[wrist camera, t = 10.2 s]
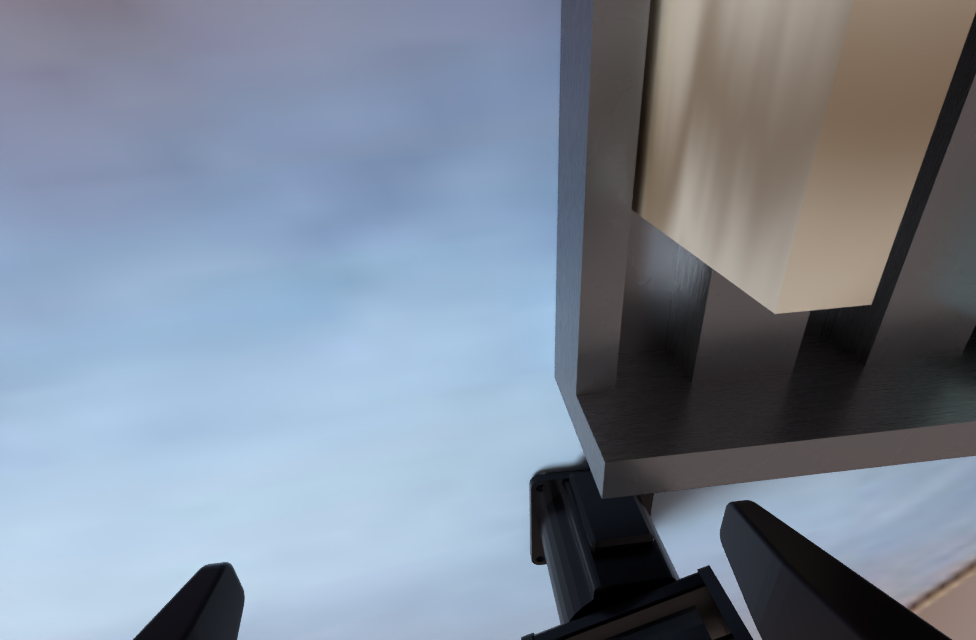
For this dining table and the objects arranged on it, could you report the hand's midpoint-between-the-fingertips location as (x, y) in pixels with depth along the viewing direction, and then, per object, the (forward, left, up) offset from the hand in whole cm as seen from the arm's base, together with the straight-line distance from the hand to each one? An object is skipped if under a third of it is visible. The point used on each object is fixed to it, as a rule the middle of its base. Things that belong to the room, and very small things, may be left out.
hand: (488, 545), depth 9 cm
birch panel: (+6, -7, -11) cm, 14 cm away
